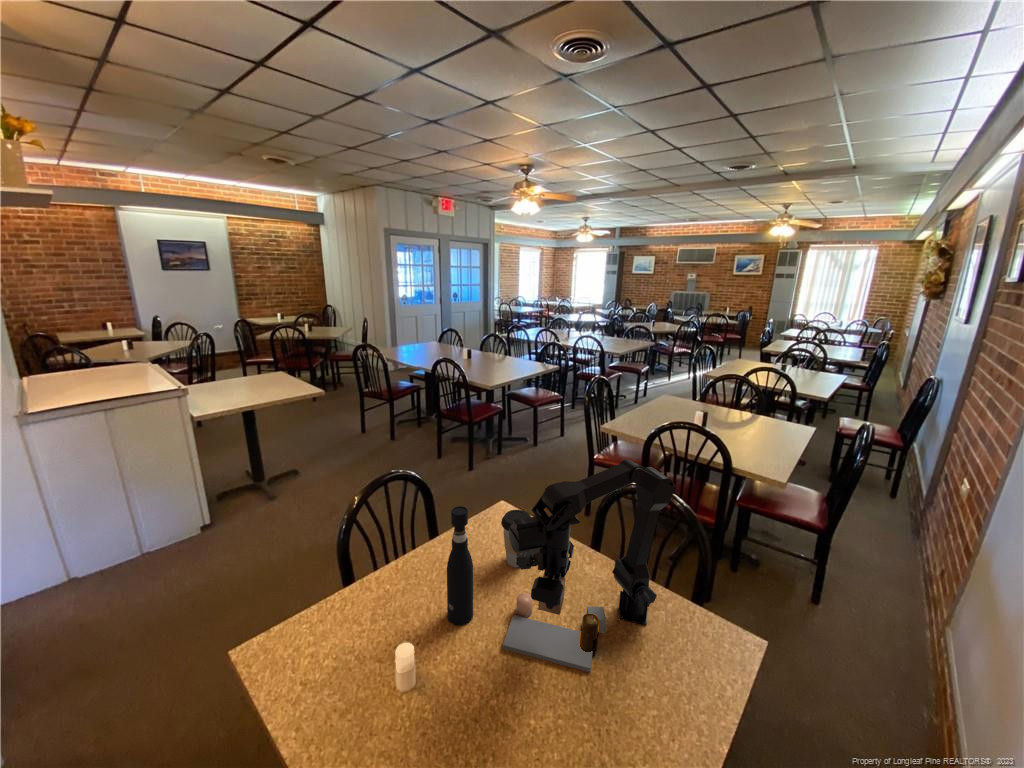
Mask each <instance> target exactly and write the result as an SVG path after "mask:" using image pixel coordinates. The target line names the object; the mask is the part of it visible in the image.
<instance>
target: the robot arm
mask: <svg viewBox="0 0 1024 768" xmlns="http://www.w3.org/2000/svg"><path fill="white" fill-rule="evenodd" d="M632 484H635V492H636V497H637V501H638V505H637V506H638V507H637V509H636V514H635V517H634V522H633V525H632V530H631V534H630V539H629V542H628V546H627V550H626V554H625V555H624V556H623V557H622V558H620V559H616V560H615V561H614V567H613V569H612V572H611V573H612V574H613V578H614V580H615V581H616V582H617V584H619V585H620V587H621V588H622V590H620V592H619V598H618V599H619V600H618V612H620V613H619V618H620V620H622V621H628V622H630V623H634V624H635V623H636V624H640V625H645V626H646V625H647V624H648V609H649V607H650V604H653V603H655V601H656V599H657V597H658V596H657V594H656V593H655V592H654V591H653V589H652V588H651V587H650V580H651V579H650V572H649V568H648V564H647V563H648V558H649V555H650V551H651V546H652V543H653V539H654V535H655V530H656V527H657V524H658V519H659V515H660V512H661V510H663V509H664V508H665V507H666V506H668V505H669V504H670V502H671V499H672V497H673V495H674V491H675V487H676V486H675V483H674V482H673V480H672V479H671V478H669V477H667V476H666V475H664V474H663V473H661V471H659V470H657V469H656V468H655V467H653V466H652V467H651V466H648V467H643V466H642V465H640V464H638V463H635V461H632V460H631V459H623V460H622V461H621V462H620V463H618V464H615V465H613V466H611V467H609V468H606V469H604V470H602V471H600V472H597V473H594V474H593V475H590V476H587V477H585V478H582V479H580V480H576V481H570V480H569V481H568V480H567V481H566V480H564V481H560V482H555V483H551V484H550V485H548V486H547V487H546V488H545V489H544V491H543V493H542V495H541V496H540V497H539V499H538V500H537V502H536V503H535V505H534V506H533V507H532V509H531V510H530V511H531V512H532V513H533V516H531V517H530V518H524V519H515V520H514V524H512V525H511V526H510V528H509V538H510V543H511V546H512V549H513V551H514V552H515V553H517V554H516V555H517V557H516V559H517V562H516V565H518V566H519V569H520V570H531V568H532V567H537V570H538V571H542V572H543V576H548V575H549V576H548V578H544V577H543V576H537V577H536V578H535V579H534V581H533V584H532V587H531V589H530V595H531V598H532V601H536V602H539V601H540V602H544V603H546V607H547V608H548V609H552V608H553V607H554V605H555V606H558V605H560V603H561V599H562V595H563V591H564V586H563V585H562V584H561V580H559V579H560V576H561V577H565V578H566V575H567V574H568V572H569V570H570V566H571V562H572V561H571V560H570V559H573V555H574V550H575V545H574V544H573V542H572V541H570V539H571V538H570V536H571V526H574V525H577V524H580V523H581V520H580V519H579V518H578V517H577V516H578V514H580V513H581V512H582V511H583V509H585V507H586V505H587V504H589V503H591V502H593V501H595V500H597V499H600V498H602V497H603V496H607V495H608V494H611V493H613V492H615V491H618V490H620V489H622V488H625V487H626V486H629V485H632ZM545 509H547V511H548V512H549V513H550V515H548V513H547V512H546V511H545ZM554 576H555V578H554ZM564 592H565V591H564Z"/></svg>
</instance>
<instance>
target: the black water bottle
mask: <svg viewBox="0 0 1024 768" xmlns="http://www.w3.org/2000/svg"><path fill="white" fill-rule="evenodd" d="M450 515H451V517H450V520H451V525H452V527H454V528H453V533H452V538H451V551H450V553H449V556H448V560H447V565H446V596H447V597H446V598H447V599H446V601H447V602H446V603H447V605H446V606H447V609H446V610H447V620H448V622H449V623H450V624H452V625H453V626H456V627H457V626H458V627H460V626H462V627H463V626H466V625H467V624H469V623H470V622H471V621H472V619H473V617H474V563H473V559H472V555H471V553H470V549H468V546H469V544H468V536H467V534H468V533H467V531H466V526H467V525H468V523H469V516H468V515H469V511H468V508H467V507H465V506H462V505H459V506H455V507H453V508H452V509H451V510H450Z"/></svg>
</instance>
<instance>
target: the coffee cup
mask: <svg viewBox="0 0 1024 768" xmlns="http://www.w3.org/2000/svg"><path fill="white" fill-rule="evenodd" d="M530 517H532V516H531V514H530V513H529V512H528V511H525V510H522V509H512V510H509V511H507V512H505V513H504V515H503V517H502V518H501V522H500V523H501V527H502V528H503V542H504V548H505V557H506V559H505V560H506V564H508V565H509V566H510V567H512V568H515V569H516V568H519V566H518V565H516V562H517V559H516V557H517V555H516V554H517V553H515V552H514V551H513V549H512V546H511V543H510V538H509V528H510V526H511V525H512V524H514V520H515V519H524V518H530ZM519 569H520V568H519Z"/></svg>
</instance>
